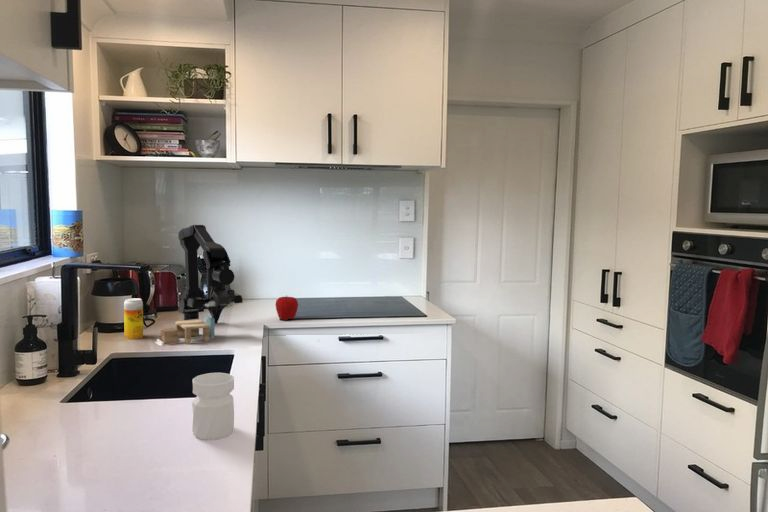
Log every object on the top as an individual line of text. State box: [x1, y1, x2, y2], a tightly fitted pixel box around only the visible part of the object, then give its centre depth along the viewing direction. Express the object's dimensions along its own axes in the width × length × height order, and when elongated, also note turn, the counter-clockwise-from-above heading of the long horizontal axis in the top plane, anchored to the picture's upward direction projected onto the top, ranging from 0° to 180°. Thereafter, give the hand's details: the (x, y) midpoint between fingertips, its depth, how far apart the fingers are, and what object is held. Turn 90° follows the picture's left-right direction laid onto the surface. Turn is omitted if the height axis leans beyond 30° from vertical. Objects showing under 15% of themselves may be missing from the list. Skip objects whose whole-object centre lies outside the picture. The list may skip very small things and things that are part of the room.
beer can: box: [123, 297, 144, 340], centre depth 191 cm, size 6×6×15 cm
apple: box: [275, 295, 299, 321], centre depth 233 cm, size 10×10×11 cm
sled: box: [154, 315, 215, 347], centre depth 189 cm, size 6×19×8 cm, turn 129°
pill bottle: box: [191, 372, 235, 441], centre depth 117 cm, size 9×9×12 cm
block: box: [159, 327, 179, 345], centre depth 186 cm, size 4×4×4 cm
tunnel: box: [174, 318, 210, 345], centre depth 191 cm, size 12×8×7 cm
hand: (215, 323), depth 196 cm, fingers closed
